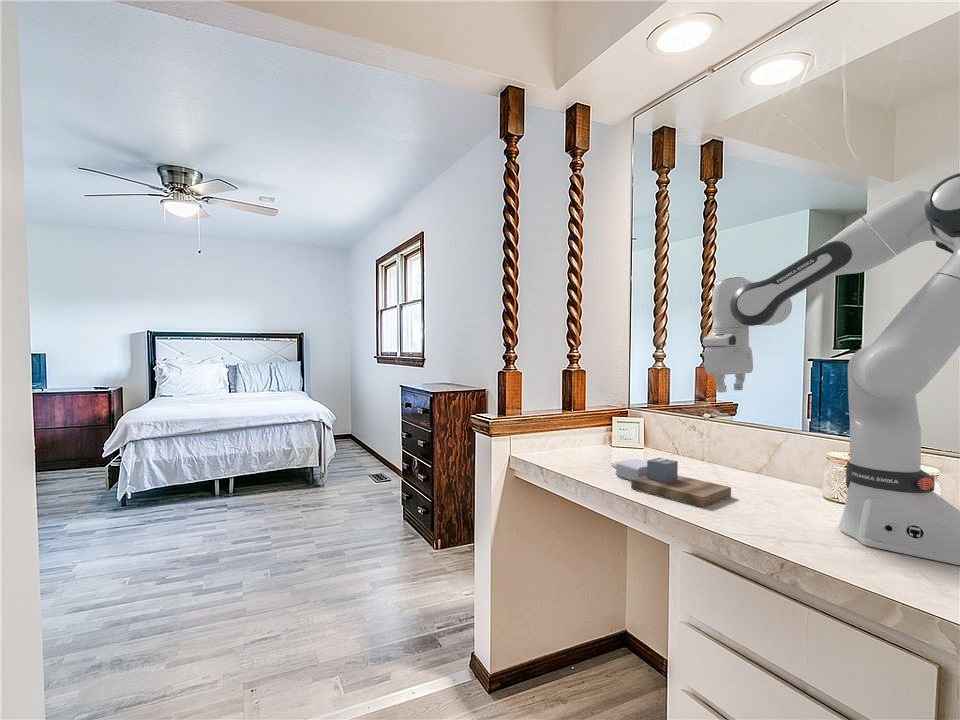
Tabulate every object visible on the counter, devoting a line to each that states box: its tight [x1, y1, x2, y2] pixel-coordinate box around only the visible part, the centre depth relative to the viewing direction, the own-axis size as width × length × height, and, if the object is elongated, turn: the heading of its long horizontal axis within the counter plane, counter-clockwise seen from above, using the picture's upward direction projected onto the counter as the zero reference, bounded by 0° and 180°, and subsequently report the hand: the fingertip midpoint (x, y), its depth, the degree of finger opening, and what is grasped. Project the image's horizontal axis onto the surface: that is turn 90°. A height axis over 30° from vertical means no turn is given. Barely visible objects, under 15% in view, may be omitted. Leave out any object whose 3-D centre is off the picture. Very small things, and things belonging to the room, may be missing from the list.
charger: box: [610, 458, 647, 482], centre depth 144 cm, size 5×9×15 cm
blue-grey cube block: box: [646, 457, 679, 483], centre depth 131 cm, size 6×6×5 cm
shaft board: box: [630, 474, 732, 508], centre depth 127 cm, size 20×14×6 cm
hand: (730, 391), depth 129 cm, fingers open, 8 cm apart
